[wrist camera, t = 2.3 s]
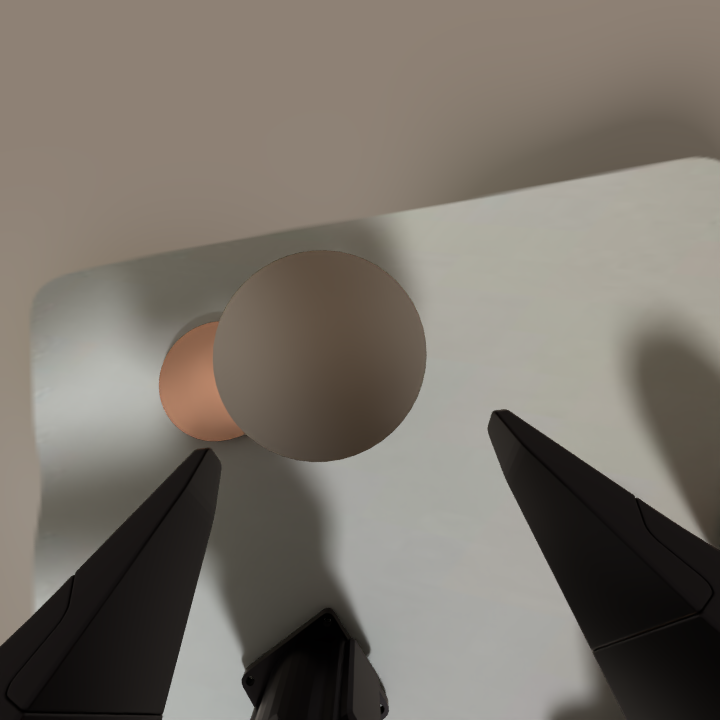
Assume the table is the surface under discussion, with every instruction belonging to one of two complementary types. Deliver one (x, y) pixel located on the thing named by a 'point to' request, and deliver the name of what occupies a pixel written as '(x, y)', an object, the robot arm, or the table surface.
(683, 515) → the table surface
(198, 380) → the coaster
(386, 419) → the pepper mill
